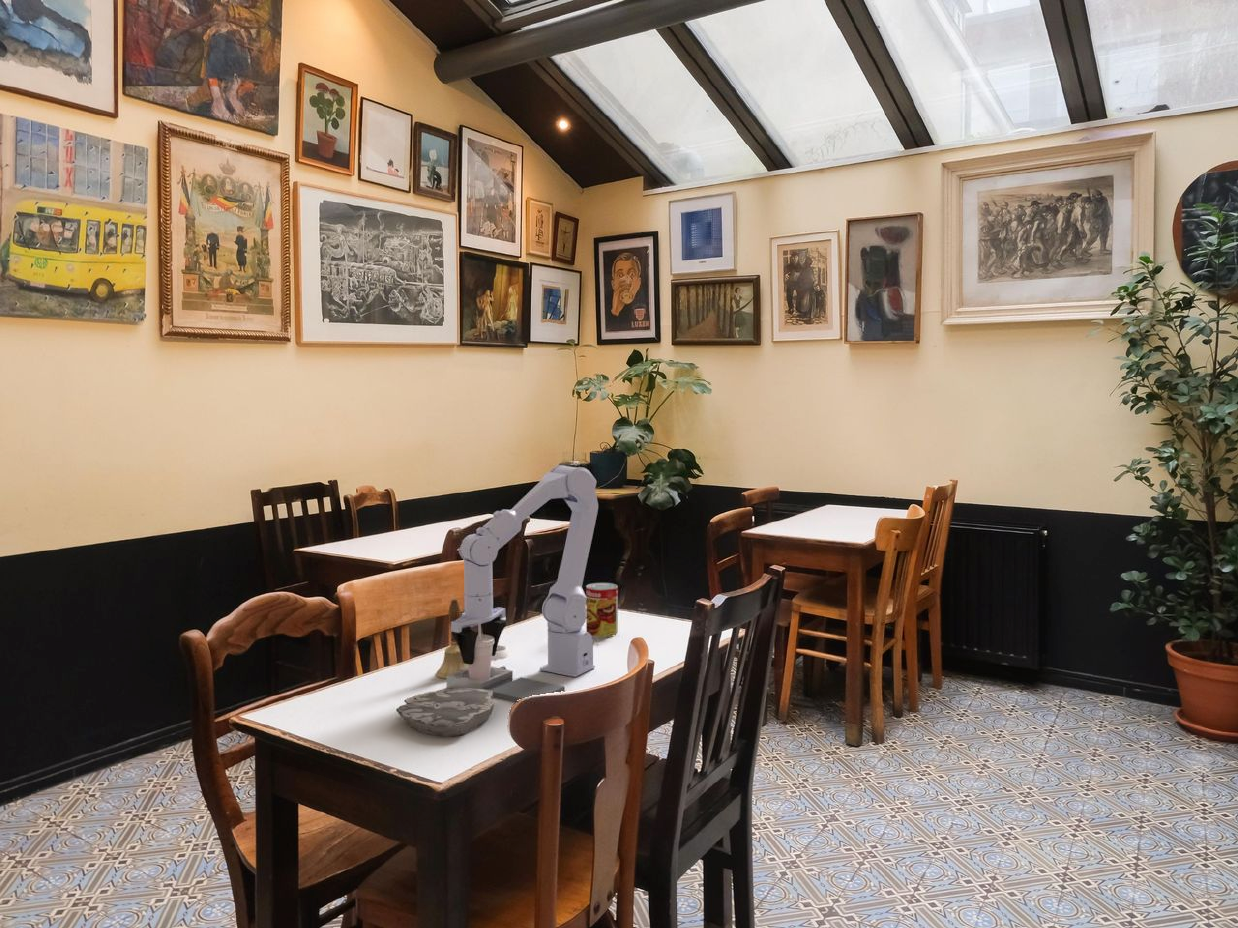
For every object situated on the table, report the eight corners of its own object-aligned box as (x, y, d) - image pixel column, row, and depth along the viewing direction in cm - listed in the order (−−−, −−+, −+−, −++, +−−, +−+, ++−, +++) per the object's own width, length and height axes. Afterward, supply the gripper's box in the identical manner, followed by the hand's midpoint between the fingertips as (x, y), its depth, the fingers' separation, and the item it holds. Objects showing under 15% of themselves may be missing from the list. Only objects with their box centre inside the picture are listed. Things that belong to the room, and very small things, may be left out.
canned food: (582, 630, 220) (581, 584, 219) (610, 627, 223) (610, 581, 223) (593, 638, 213) (592, 590, 212) (622, 635, 216) (622, 587, 215)
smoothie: (470, 691, 174) (468, 622, 173) (459, 683, 179) (457, 616, 178) (500, 686, 177) (498, 618, 176) (488, 678, 182) (487, 612, 182)
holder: (521, 678, 182) (521, 666, 182) (482, 695, 172) (482, 683, 171) (486, 671, 187) (486, 659, 187) (446, 687, 177) (446, 675, 176)
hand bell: (428, 673, 186) (426, 600, 185) (459, 665, 192) (458, 593, 191) (451, 682, 180) (450, 606, 179) (483, 673, 186) (482, 599, 185)
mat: (564, 691, 174) (564, 686, 174) (534, 705, 166) (534, 700, 166) (521, 681, 180) (521, 677, 180) (489, 695, 172) (489, 690, 172)
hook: (515, 641, 192) (489, 623, 192) (492, 678, 197) (468, 659, 198) (529, 626, 198) (505, 608, 199) (507, 662, 203) (483, 644, 204)
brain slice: (419, 701, 170) (419, 686, 169) (504, 704, 168) (504, 689, 168) (380, 739, 150) (380, 722, 150) (476, 743, 148) (476, 726, 148)
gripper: (486, 585, 185) (487, 647, 186) (439, 598, 173) (440, 665, 174) (512, 588, 181) (513, 652, 182) (465, 602, 169) (466, 670, 170)
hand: (479, 659), depth 178 cm, fingers closed on smoothie, 6 cm apart
